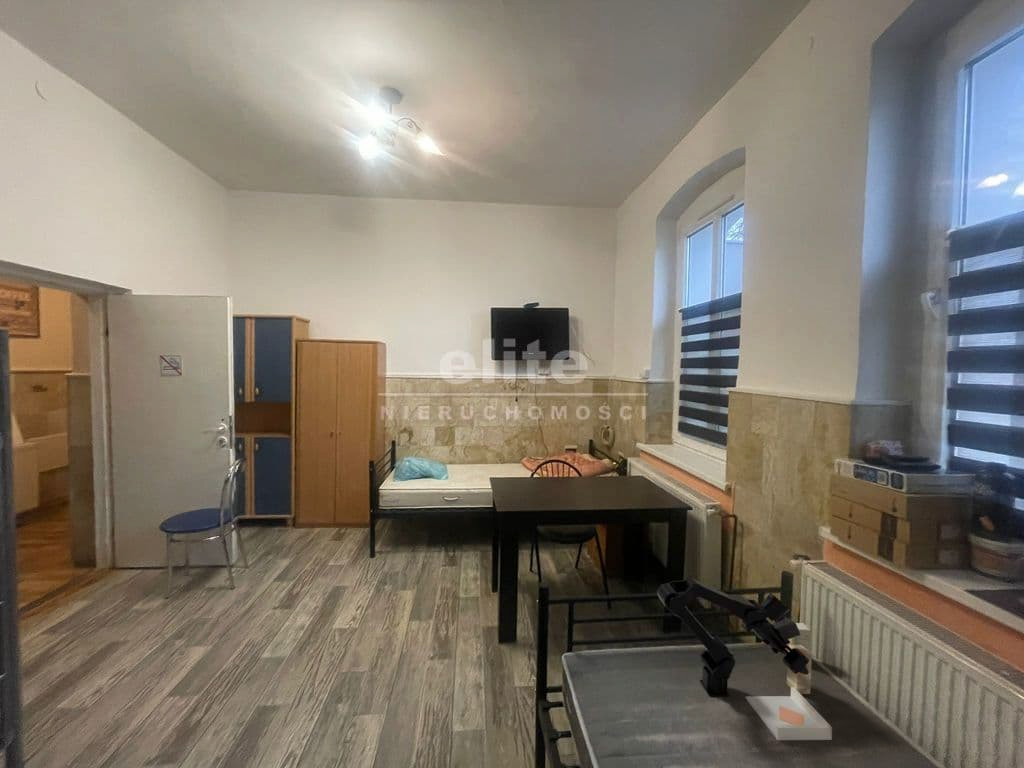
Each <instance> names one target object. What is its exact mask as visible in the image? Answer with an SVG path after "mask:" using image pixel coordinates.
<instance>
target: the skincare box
mask: <svg viewBox="0 0 1024 768" xmlns="http://www.w3.org/2000/svg"><path fill="white" fill-rule="evenodd" d="M795 623H796V625H797V627H798V629H799V632H800V635H799V636H795V637H793V638H791V639H788V640H789V641H790V643H789V644H788V645H802V646H803V647H804V648H806V649H807V650H808V651H809V652H810V653H811V629H810V628H809V627H808V625H806V624H805V623H804V622H795ZM786 650H787V649H786ZM787 651H788V650H787Z"/></svg>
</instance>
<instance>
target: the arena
mask: <svg viewBox="0 0 1024 768" xmlns="http://www.w3.org/2000/svg"><path fill="white" fill-rule="evenodd" d="M745 700H746V701H747V702H748V704H749V705H750V706H751V707H752V709H753V710H754V711H755V713H756V714H757V715H758V717H759V719H761V721H763V723H764V725H765V726H766V727H767V729H768V730H769V731H770V732H771V734H772V735H773V736H774V738H775V739H776V740H777V741H827V740H828V741H832V738H833V727H832V726H831V724H830V723H829V722H827V721H826V719H825V718H824V717H823V716H822V715H821V714H820V713H819V712H818V711H817V710H816V709H815V708H814V706H812V705H811V704H810V703H809V702H808V701H807V699H806V698H805V697H804V696H803V694H800V693H799V692H798V691H797V690H796V689H795V688H794V687H790V695H789V696H786V695H785V696H784V695H782V696H777V695H776V696H775V695H773V696H770V695H769V696H768V695H767V696H766V695H764V696H759V695H758V696H757V695H755V696H745Z"/></svg>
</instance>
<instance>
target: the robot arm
mask: <svg viewBox="0 0 1024 768" xmlns="http://www.w3.org/2000/svg"><path fill="white" fill-rule="evenodd" d="M656 590H657V591H656V594H657V596H658V598H659V600H660V601H661V602H662V604H663V606H664V607H665V608H666V609H667V610H668V611H669V612H671V614H673V615H674V616H676V617H678V618H679V619H681V621H682V622H683V623H684V624H685V625H686V627H687V628H688V629H689V630H690V632H691V633H693V634H694V636H695V637H696V638H697V639H698V641H699V642H701V644H702V645H703V647H704V649H705V650H704V651H703V652H701V654H699V659H700V661H701V662H702V663H703V665H704V666H702V679H699V682H700V684H701V685H702V687H703V689H704V691H706V693H707V694H708V696H710V697H729V696H730V694H729V692H728V691H727V690H728V685H729V683H728V682H729V680H730V677H731V674H732V672H733V669H734V668H735V665H736V659H735V658H734V657H735V654H734V653H733V652H732V651H731V650H730V648H728V646H727V645H726V644H725V642H723V640H721V638H720V637H719V636H718V634H716V635H714V637H713V636H711V635H710V634H709V632H708V631H707V630H706V629H705V627H703V625H702V624H701V623H700V622H699V620H697V618H696V617H695V616H694V615H693V613H691V611H690V610H689V609H688V605H689V604H690V603H691V602H692V601H693V600H695V599H696V598H697V597H698V598H701V599H702V600H705V601H707V602H709V603H712V604H714V605H717V606H718V607H721V608H723V609H726V610H727V611H729V612H730V613H732V614H733V615H734V616H736V617H737V618H738V619H740V620H741V624H740V626H741V628H742V629H743V630H744V631H745V632H746V633H747V634H750V632H751V631H752V632H754V635H755V636H756V637H757V638H759V639H760V641H762V642H763V643H764V644H765V645H766V646H767V647H768V648H769V649H770V650H772V651H773V653H775V655H777V654H778V653H781V654H783V655H785V656H784V657H782V663H783V664H784V666H786V667H788V668H789V669H790V670H791V671H792V672H793V673H794V674H797V673H798V672H799V673H802V674H806V675H807V674H808V673H809V671H808V669H807V668H806V665H807V664H808V663H809V659H808V658H807V657H806V656H805V655H804V654H803V653H802V652H801V651H799V650H798V649H797V648H793V649H791V648H790V647H789V646H788V644H789V643H790V641H789V640H788V639H791V638H793V637H795V636H799V635H800V632H799V629H798V627H797V625H796V623H797V622H794V621H793V620H792V619H791V618H789V617H787V616H785V615H786V614H788V612H789V611H790V608H789V607H788V606H787V605H786V604H785V603H783V601H781V600H780V599H779V598H778V597H776V596H775V595H774V594H773V593H771V592H769V594H767V596H766V598H764V600H763V601H762V602H761V603H759V602H757V601H756V600H755V599H750V598H749V599H748V598H747V597H744V596H743V595H738V594H729V593H726V592H723V591H721V590H718V589H716V588H714V587H711V586H709V585H707V584H705V583H703V582H700V581H697V579H695V578H692V577H689V578H685V579H683V580H672V581H669V582H667V583H661V585H659V586H658V588H657V589H656ZM679 592H683V593H681V594H679ZM767 618H768V619H769V620H770V621H771V622H770V621H769V620H768V619H767ZM773 621H774V622H773ZM772 622H773V623H772ZM786 649H787V650H788V651H787V650H786ZM789 651H790V652H789Z"/></svg>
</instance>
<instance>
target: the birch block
mask: <svg viewBox="0 0 1024 768" xmlns="http://www.w3.org/2000/svg"><path fill="white" fill-rule="evenodd" d="M788 646H789V647H790V648H791V649H793V648H797V649H798V650H799V651H801V652H802V653H803V654H804V655H805V656H806V657H807V658H808V659H809V663H808V664H807V665H806V668H807V669H808V671H809V673H808V674H807V675H806V674H802V673H799V672H798V673H797V674H794V673H793V672H792V671H791V670H790V669H789V668H788V667H787V666H786V667H787V668H786V670H787V671H786V684H787V685H788V687H789V688H791V687H794V688H795V689H796V690H797V691H798V692H799V693H800V694H801V695H810V694H811V683H812V657H813V656H812V654H813V653H811V651H810V652H809V651H808V650H807V649H806V648H804V647H803V646H802V645H788ZM789 652H790V651H789Z"/></svg>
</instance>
